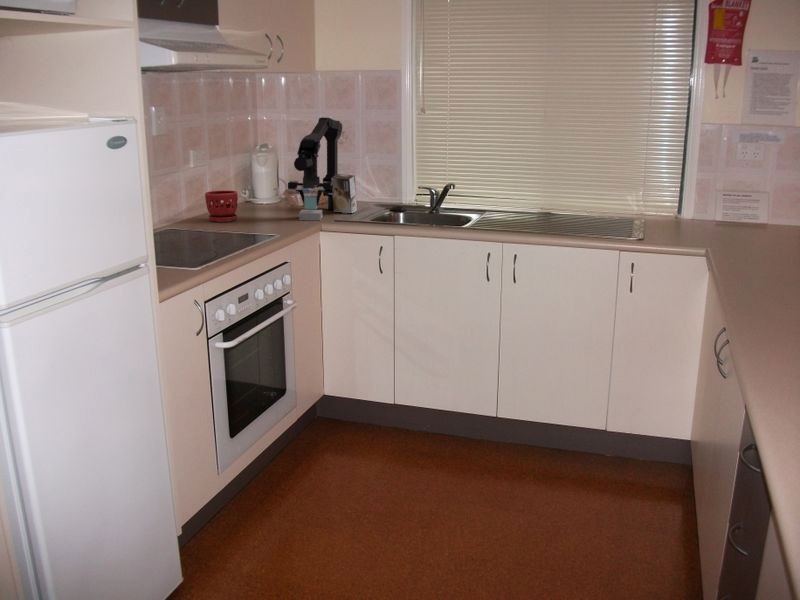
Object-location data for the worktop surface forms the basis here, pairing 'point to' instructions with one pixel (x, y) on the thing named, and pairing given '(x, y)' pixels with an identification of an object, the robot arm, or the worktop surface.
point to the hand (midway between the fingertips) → (310, 205)
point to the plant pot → (222, 205)
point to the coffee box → (344, 193)
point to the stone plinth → (310, 215)
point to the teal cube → (310, 202)
